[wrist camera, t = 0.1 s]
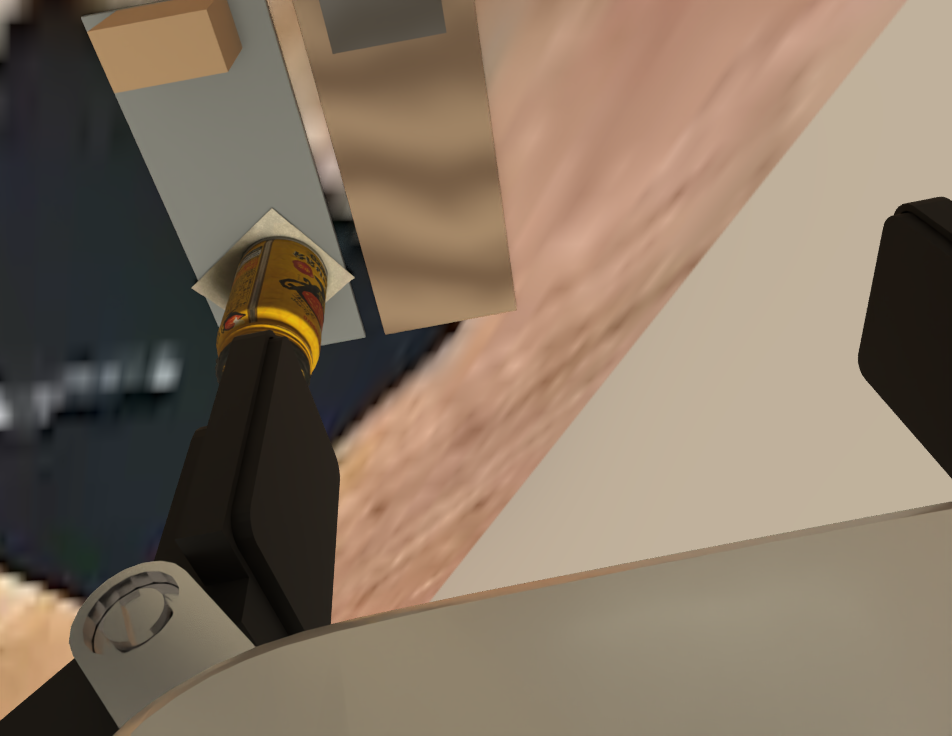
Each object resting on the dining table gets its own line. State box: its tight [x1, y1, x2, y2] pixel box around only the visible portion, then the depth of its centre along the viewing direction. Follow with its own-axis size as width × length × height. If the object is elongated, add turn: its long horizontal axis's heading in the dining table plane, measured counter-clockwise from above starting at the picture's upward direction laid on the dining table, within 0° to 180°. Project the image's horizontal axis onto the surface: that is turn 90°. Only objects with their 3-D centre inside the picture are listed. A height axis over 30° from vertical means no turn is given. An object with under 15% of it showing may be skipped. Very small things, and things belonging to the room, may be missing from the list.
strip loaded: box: [81, 0, 366, 345], centre depth 45 cm, size 24×10×6 cm, turn 9°
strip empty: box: [293, 0, 517, 335], centre depth 45 cm, size 24×10×6 cm, turn 9°
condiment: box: [192, 209, 355, 386], centre depth 46 cm, size 7×8×12 cm
